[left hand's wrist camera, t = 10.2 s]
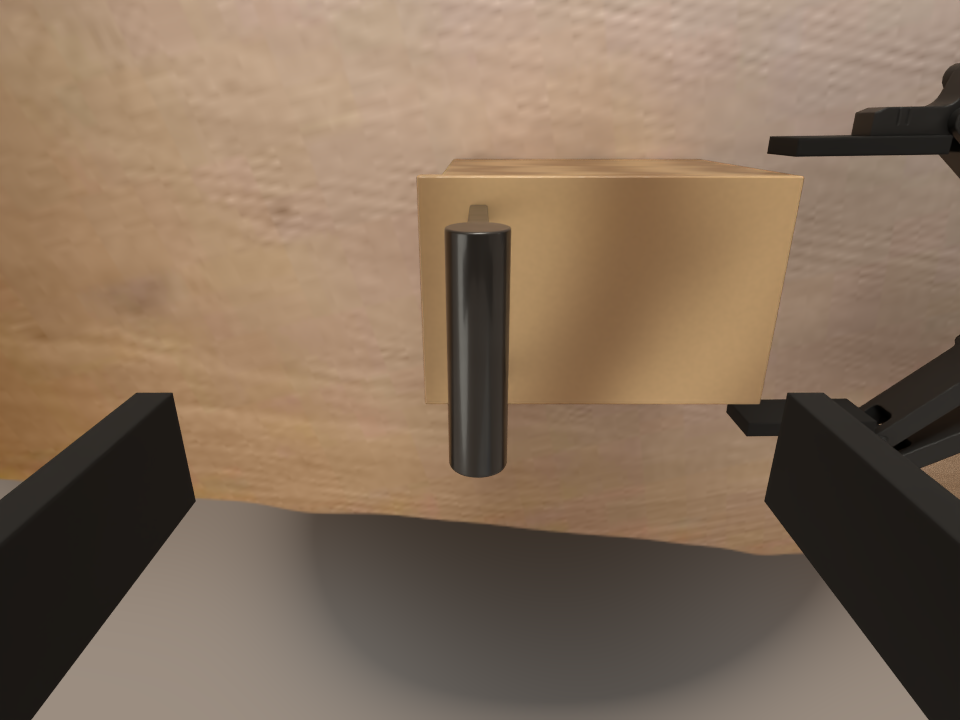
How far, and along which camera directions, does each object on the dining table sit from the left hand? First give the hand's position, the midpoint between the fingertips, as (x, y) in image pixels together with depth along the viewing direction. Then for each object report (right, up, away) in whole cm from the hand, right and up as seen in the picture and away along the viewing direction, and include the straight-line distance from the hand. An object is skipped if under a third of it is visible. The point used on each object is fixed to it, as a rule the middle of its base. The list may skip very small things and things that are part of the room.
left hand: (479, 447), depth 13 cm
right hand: (+14, +5, +16) cm, 22 cm away
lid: (+5, +5, +12) cm, 14 cm away
